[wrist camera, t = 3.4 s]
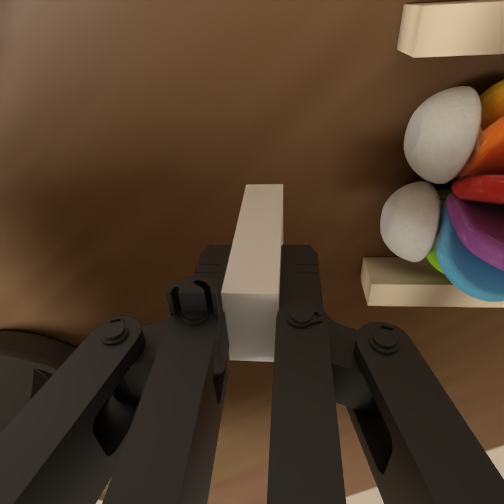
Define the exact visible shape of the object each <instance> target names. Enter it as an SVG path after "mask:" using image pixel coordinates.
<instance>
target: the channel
mask: <svg viewBox="0 0 504 504" xmlns="http://www.w3.org/2000/svg"><path fill="white" fill-rule="evenodd" d="M397 50H399V51H401V52H403V53H405V54H407V55H409V56H411V57H413V58H420V57H442V56H465V55H488V54H504V0H470V1H452V2H434V3H417V4H404V6H403V13H402V19H401V25H400V31H399V38H398V44H397ZM360 279H361V283H362V286H363V290H364V294H365V297H366V301H367V305H368V306H425V307H499V308H504V301H499V302H489V301H483V300H479V299H476V298H473V297H471V296H469V295H467V294H465V293H464V292H462V291H461V290H459V289H458V288H457V287H456V286H455V285H453V284H452V283H451V281H450V280H449V279H448V278H447V277H446V276H445V274H444V273H442V272H440V271H438V270H437V269H436V268H435V267H434V266H433V265H432V264H431V263H430V262H429V261H428V259H427V258H426V257H425V258H424V259H422V260H421V261H418V262H411V261H408V260H405V259H403V258H401V257H363V264H362V270H361V276H360Z"/></svg>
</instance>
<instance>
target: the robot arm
mask: <svg viewBox="0 0 504 504" xmlns="http://www.w3.org/2000/svg"><path fill="white" fill-rule="evenodd" d="M166 296H167V300H168V304H169V308H170V312H171V317H170V318H168V319H166V320H163V321H160V322H156V323H151V324H147V325H142V326H141V325H140V323H139V322H138V321H137V319H135V318H133V317H130V316H117V317H113V318H110V319H108V320H106V321H104V322H102V323H101V324H99V325H98V326H97V327H96V328H95V329H94V330H93V331H92V332H91V333H90V334H89V335H88V336H87V338H86V339H85V340H84V341H83V342H82V343H81V344H80V345H79V346H78V348H74V347H72V346H70V345H68V344H65V343H63V342H60V341H57V340H54V339H51V338H48V337H44V336H40V335H36V334H31V333H25V332H16V331H0V504H96V502H97V500H98V499H99V497H100V495H101V494H102V492H103V490H104V489H105V487H106V485H107V484H108V482H109V480H110V479H111V481H110V484H109V486H108V489H107V492H106V495H105V497H104V500H103V503H102V504H207V501H208V495H209V489H210V483H211V477H212V470H213V464H214V458H215V452H216V446H217V439H218V433H219V427H220V421H221V415H222V408H223V402H224V396H225V390H226V384H227V377H228V374H227V365H226V363H227V358H228V352H229V358H230V360H238V361H262V362H274V371H273V391H272V411H271V431H270V451H269V472H268V492H267V504H346V498H345V488H344V479H343V469H342V460H341V450H340V441H339V431H338V422H337V412H336V403H335V402H337V403H339V404H342V405H345V406H346V407H347V410H348V413H349V415H350V418H351V420H352V423H353V426H354V428H355V431H356V433H357V436H358V438H359V441H360V443H361V446H362V448H363V451H364V454H365V456H366V459H367V461H368V464H369V466H370V469H371V471H372V474H373V476H374V479H375V482H376V484H377V487H378V489H379V492H380V494H381V497H382V499H383V502H384V504H504V479H503V478H502V476H501V475H500V473H499V472H498V470H497V469H496V467H495V466H494V464H493V463H492V461H491V460H490V458H489V457H488V455H487V454H486V452H485V451H484V449H483V447H482V446H481V444H480V443H479V441H478V440H477V438H476V437H475V435H474V434H473V432H472V431H471V429H470V428H469V426H468V425H467V423H466V422H465V420H464V419H463V417H462V416H461V414H460V413H459V411H458V410H457V408H456V407H455V405H454V404H453V402H452V401H451V399H450V398H449V396H448V395H447V393H446V392H445V390H444V389H443V387H442V385H441V384H440V382H439V381H438V379H437V378H436V376H435V375H434V373H433V372H432V370H431V369H430V367H429V366H428V364H427V363H426V361H425V360H424V358H423V357H422V355H421V354H420V352H419V351H418V349H417V348H416V346H415V345H414V343H413V342H412V340H411V339H410V337H409V336H408V335H407V334H406V333H405V332H404V331H403V330H401V329H399V328H398V327H396V326H394V325H391V324H388V323H384V322H372V323H369V324H366V325H364V326H363V327H361V328H360V329H359V330H355V329H352V328H348V327H345V326H343V325H340V324H338V323H336V322H334V321H333V320H332V319H330V318H329V317H328V316H327V314H326V313H325V311H324V309H323V305H322V295H321V285H320V275H319V266H318V255H317V253H316V252H315V251H314V249H313V248H312V247H311V245H283V184H246V188H245V192H244V196H243V200H242V205H241V209H240V213H239V218H238V222H237V226H236V231H235V235H234V239H233V243H232V246H223V245H209V246H208V247H207V248H206V249H205V250H204V251H203V252H202V253H201V255H200V258H199V261H198V265H197V267H196V269H195V274H194V275H193V277H188V278H184V279H181V280H179V281H177V282H175V283H174V284H172V285H171V286H170V287H169V288H168V290H167V291H166ZM112 475H113V476H112ZM111 477H112V478H111Z"/></svg>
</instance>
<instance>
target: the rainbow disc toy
mask: <svg viewBox="0 0 504 504" xmlns="http://www.w3.org/2000/svg"><path fill="white" fill-rule="evenodd" d="M404 153H405V157H406V159H407V161H408V163H409V165H410V166H411V168H412V169H413V170H414V171H415V172H416V173H417V174H418V175H419V176H420V177H422V178H424V179H425V180H427V181H430V182H433V183H436V184H444V183H447V182H449V181H450V180H452V179H454V178H455V177H457V180H454V182H453V184H452V187H451V188H452V190H447V189H444V190H438V191H436V189H435V188H434V186H433V185H432V184H431V183H429V182H427V181H419V182H414V183H411V184H407V185H405V186H403V187H402V188H400V189H398V190H397V191H395V192H394V193H393V194H392V195H391V196H390V197H389V198H388V200H387V201H386V203H385V204H384V207H383V210H382V213H381V219H380V232H381V236H382V238H383V240H384V242H385V244H386V245H387V247H388V248H389V249H390V250H391V251H392V252H393V253H394V254H396V255H397V256H399V257H401V258H403V259H405V260H408V261H411V262H418V261H421V260H422V259H424V258H425V257H426V258H427V259H428V261H429V262H430V263H431V264H432V265H433V266H434V267H435V268H436V269H437V270H438V271H440V272H442V273H444V274H445V276H446V277H447V278H448V279H449V280H450V281H451V283H452V284H453V285H455V286H456V287H457V288H458V289H459V290H461V291H462V292H464V293H465V294H467V295H469V296H471V297H473V298H476V299H479V300H483V301H489V302H499V301H504V80H502V81H500V82H498V83H496V84H494V85H493V86H491V87H490V88H489V89H487V90H486V91H485V92H484V93H483V94H481V95H480V96H479V95H478V93H477V92H476V90H475V89H473V88H472V87H469V86H459V87H453V88H449V89H445V90H443V91H440V92H438V93H436V94H434V95H433V96H431V97H429V98H428V99H427V100H425V101H424V102H423V103H422V104H421V105H420V106H419V107H418V108H417V109H416V111H415V112H414V113H413V115H412V117H411V119H410V121H409V123H408V126H407V129H406V133H405V137H404Z"/></svg>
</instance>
